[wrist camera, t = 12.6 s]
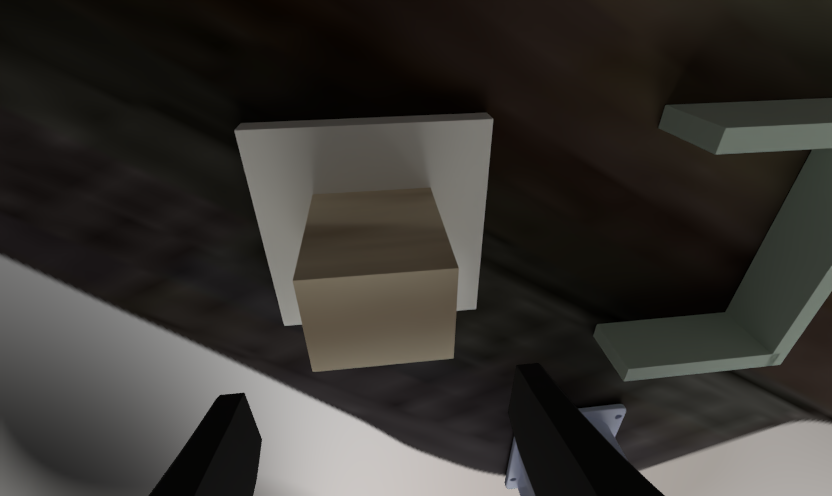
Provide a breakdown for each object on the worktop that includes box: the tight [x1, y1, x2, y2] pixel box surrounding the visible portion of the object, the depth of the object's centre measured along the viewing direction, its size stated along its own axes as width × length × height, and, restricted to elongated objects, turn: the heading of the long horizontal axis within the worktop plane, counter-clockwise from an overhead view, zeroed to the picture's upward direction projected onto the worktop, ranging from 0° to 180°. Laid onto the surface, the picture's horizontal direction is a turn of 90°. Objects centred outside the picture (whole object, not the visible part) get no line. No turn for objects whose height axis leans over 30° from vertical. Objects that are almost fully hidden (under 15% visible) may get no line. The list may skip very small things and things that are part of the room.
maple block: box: [293, 188, 459, 372], centre depth 16 cm, size 4×5×6 cm
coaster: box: [234, 113, 493, 326], centre depth 19 cm, size 10×10×1 cm
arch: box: [593, 98, 832, 381], centre depth 20 cm, size 14×10×4 cm
